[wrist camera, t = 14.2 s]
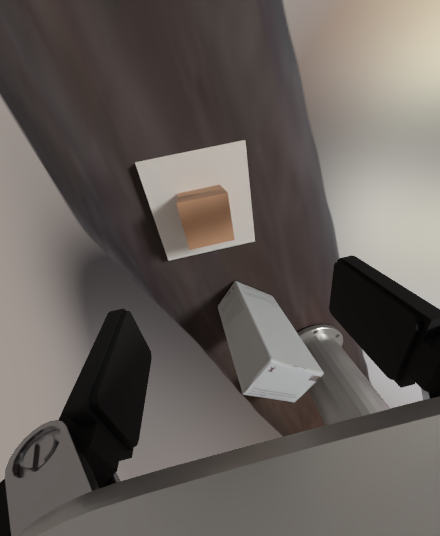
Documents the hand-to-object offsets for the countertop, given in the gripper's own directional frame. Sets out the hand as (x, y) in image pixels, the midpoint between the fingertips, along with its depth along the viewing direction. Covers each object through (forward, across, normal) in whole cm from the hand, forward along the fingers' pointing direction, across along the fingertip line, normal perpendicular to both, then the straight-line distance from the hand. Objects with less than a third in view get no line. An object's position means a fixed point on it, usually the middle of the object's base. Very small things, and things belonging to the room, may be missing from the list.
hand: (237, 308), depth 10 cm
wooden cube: (+19, 0, 0) cm, 19 cm away
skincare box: (+20, -4, +17) cm, 26 cm away
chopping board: (+20, 0, 0) cm, 20 cm away
